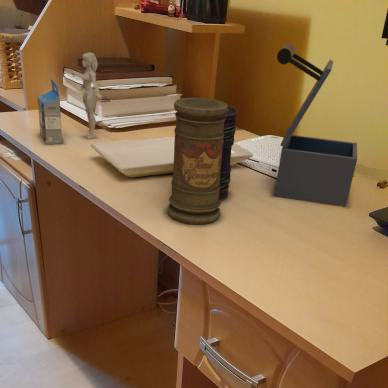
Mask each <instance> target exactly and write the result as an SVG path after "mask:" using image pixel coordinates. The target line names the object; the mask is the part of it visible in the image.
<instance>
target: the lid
mask: <svg viewBox="0 0 388 388" xmlns="http://www.w3.org/2000/svg"><path fill="white" fill-rule="evenodd" d="M276 59H277V62H278V64H281V65H287V64H291V65H292V66H294V67H295V68H297V69H299V70H300V71H302V72H304V73H305V74H307V75H308V76H310V77H311V78H312V79H314V80H315V83H314V85H313V87H312V88H311V90H310V91H309V93H308V95H307V97H306V98H305V99H304V101H303V103H302V105H301V107H300V108H299V110H298V111H297V113H296V114H295V116H294V118H293V120H292V122H291V123H290V125H289V126H288V128H287V130H286V131H285V134H284V136H283V139H282V140H281V142H280V146H281V147H285V145H286V144H287V142H288V140H289V139H290V137H291V135H294V132H295V131H296V129H297V128H298V125H299V124H300V122H301V121H302V119H303V118H304V116H305V114H306V113H307V111H308V109H309V108H310V107H311V104H312V103H313V102H314V100H315V98H316V96H317V95H318V93H319V91H320V90H321V88H322V86H323V85H324V83H325V82H326V80H327V78H328V77H329V75H330V74H331V72H332V69H333V65H334V61H333V60H332V59H329V60H328V62H327V63H326V65H325V67H324V68H323V70H322V69H321V68H319V67H317V66H316V65H314V64H313V63H311V61H310V62H309V60H306V59H305V58H304V57H302V56H300V55H299V54H298V53H296V47H295V46H294V45H293V44H292V43H287V44H285V45H284V46H282V47H281V49H279V50H278V52H277V55H276Z"/></svg>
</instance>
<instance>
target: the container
mask: <svg viewBox="0 0 388 388" xmlns="http://www.w3.org/2000/svg"><path fill="white" fill-rule="evenodd" d="M228 106H229V105H228V104H227V103H226V102H224V101H222V100H219V99H212V98H204V97H183V98H178V99H176V100H175V101H174V104H173V109H174V110H175V113H174V116H175V127H174V130H173V131H174V132H173V133H174V136H175V142H174V167H173V173H172V179H171V192H170V193H171V194H170V196H169V197H168V202H169V204H168V205H167V213H168V215H169V217H170V218H172V219H173V220H175V221H177V222H180V223H183V224H187V225H209V224H212V223H215V222H216V221H218V219H219V218H220V216H221V209H220V206H221V201H219V190H220V183H219V181H220V170H221V159H222V149H223V137H224V122H225V119H226V117H225V116H224V115H225V114H227V112H228Z"/></svg>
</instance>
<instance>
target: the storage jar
mask: <svg viewBox="0 0 388 388" xmlns="http://www.w3.org/2000/svg"><path fill="white" fill-rule="evenodd" d="M237 113H238V111H237V109H235V108H234V107H231V106H229V105H228V112H227V114H225V115H224V116H225V117H226V119H225V122H224V137H223V149H222V159H221V170H220V181H219V183H220V190H219V201H220V202H222V201H225V200H226V199H228V198H229V191H228V190H229V189H230V183H231V176H232V175H231V172H232V166H231V165H230V159H231V149H232V145H233V143H235V135H236V127H237V126H236V121H237V120H236V117H237Z"/></svg>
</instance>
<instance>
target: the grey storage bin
mask: <svg viewBox="0 0 388 388" xmlns="http://www.w3.org/2000/svg"><path fill="white" fill-rule="evenodd" d="M281 147H282V146H281ZM357 162H358V143H357V142H352V141H343V140H335V139H329V138H319V137H313V136H303V135H296V134H292V135H291V137H290V139H289V140H288V142H287V144H286V145H285V147H282V148H281V150H280V156H279V164H278V169H277V176H276V183H275V188H274V197H278V198H284V199H285V198H286V199H291V200H298V201H305V202H314V203H319V204H326V205H331V206H332V205H333V206H340V207H347V203H348V199H349V196H350V191H351V188H352V184H353V183H352V182H353V179H354V176H355V175H354V174H355V170H356V166H357Z"/></svg>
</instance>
